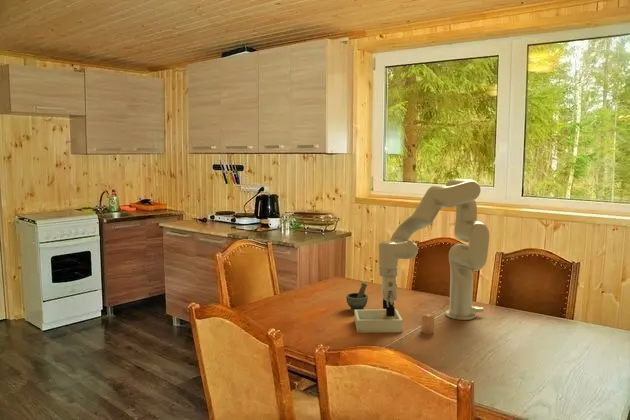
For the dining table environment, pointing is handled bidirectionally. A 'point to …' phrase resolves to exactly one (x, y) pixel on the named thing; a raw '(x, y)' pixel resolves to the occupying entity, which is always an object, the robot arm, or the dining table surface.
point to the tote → (376, 322)
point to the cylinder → (427, 323)
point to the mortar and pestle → (358, 299)
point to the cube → (383, 315)
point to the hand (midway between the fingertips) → (388, 312)
